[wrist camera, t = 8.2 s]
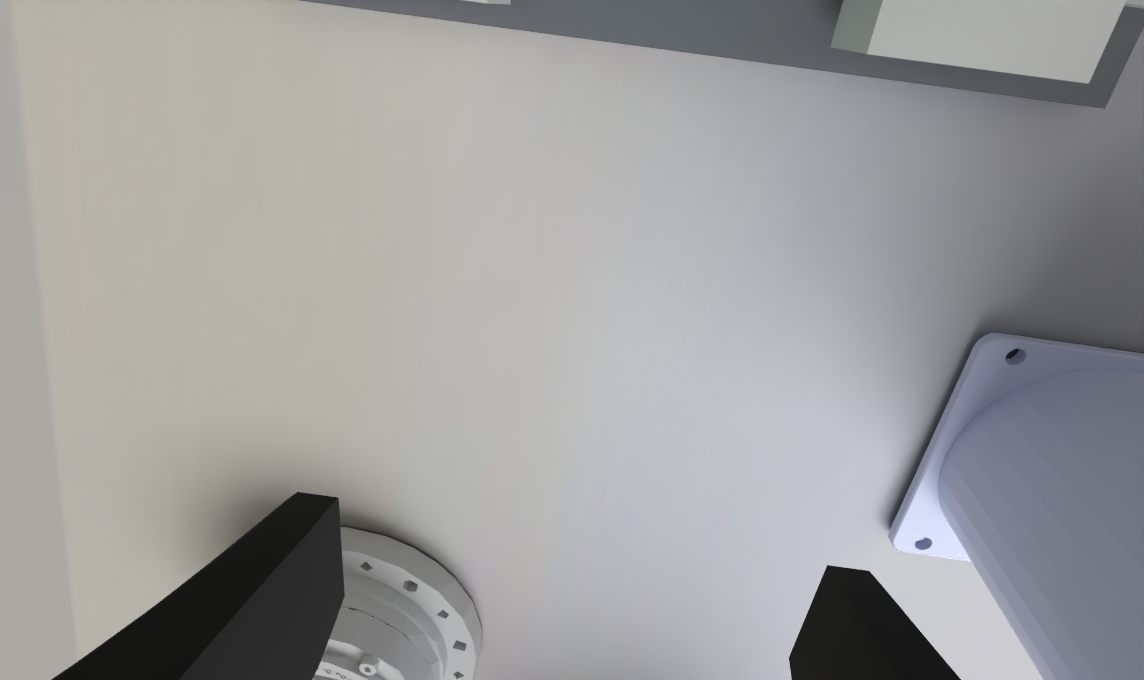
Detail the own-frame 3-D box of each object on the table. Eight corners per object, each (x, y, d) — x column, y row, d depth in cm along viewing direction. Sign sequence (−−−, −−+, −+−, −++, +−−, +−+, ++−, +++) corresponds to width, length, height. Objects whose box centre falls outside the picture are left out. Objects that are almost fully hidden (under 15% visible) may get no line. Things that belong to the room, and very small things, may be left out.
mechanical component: (461, 518, 24) (207, 520, 25) (426, 619, 20) (126, 616, 21) (499, 696, 28) (283, 691, 29) (477, 808, 24) (227, 797, 25)
